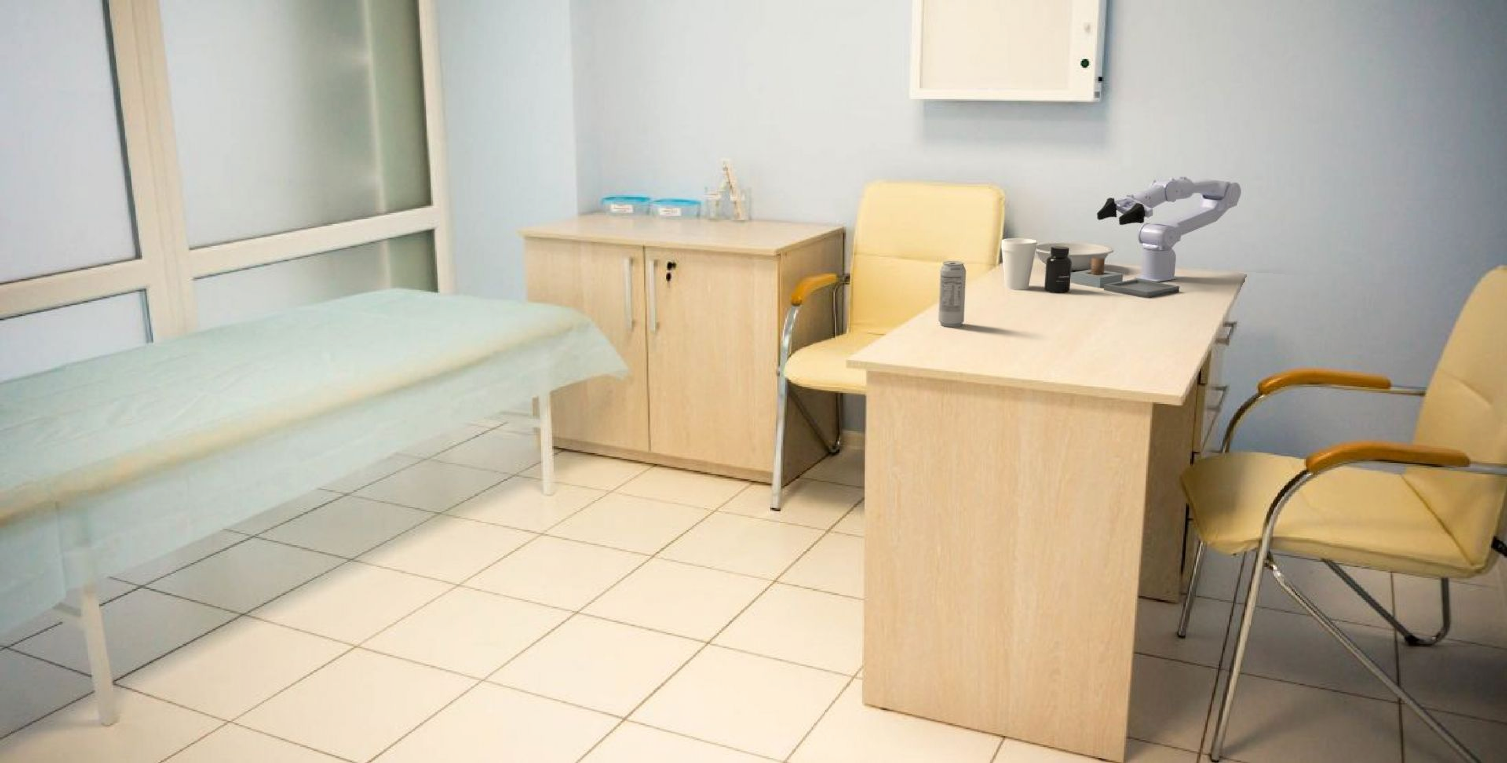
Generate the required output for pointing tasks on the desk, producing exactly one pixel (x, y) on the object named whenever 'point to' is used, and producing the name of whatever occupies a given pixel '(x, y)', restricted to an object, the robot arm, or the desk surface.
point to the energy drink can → (952, 294)
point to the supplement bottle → (1058, 270)
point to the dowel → (1097, 266)
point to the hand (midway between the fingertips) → (1109, 218)
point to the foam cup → (1018, 262)
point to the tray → (1141, 288)
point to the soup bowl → (1075, 253)
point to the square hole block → (1095, 278)
